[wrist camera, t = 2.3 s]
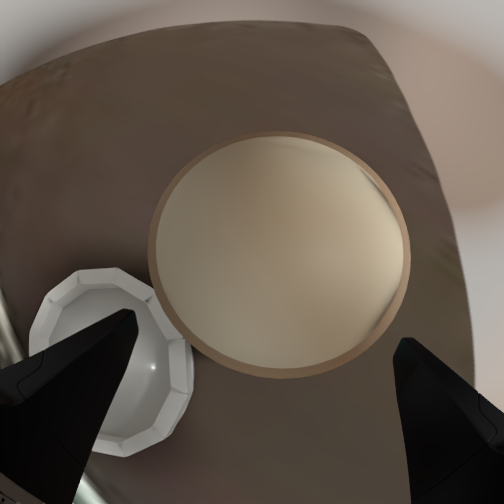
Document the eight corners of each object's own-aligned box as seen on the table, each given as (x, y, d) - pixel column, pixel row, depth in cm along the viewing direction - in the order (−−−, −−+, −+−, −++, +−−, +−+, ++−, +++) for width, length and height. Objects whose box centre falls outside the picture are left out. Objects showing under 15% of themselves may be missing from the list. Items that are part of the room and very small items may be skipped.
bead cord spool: (253, 385, 17) (243, 448, 5) (198, 303, 19) (102, 205, 7) (334, 327, 18) (458, 266, 6) (278, 251, 20) (303, 99, 8)
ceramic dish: (95, 466, 14) (81, 474, 12) (29, 327, 18) (12, 322, 16) (232, 398, 17) (228, 404, 14) (139, 246, 20) (128, 234, 18)
